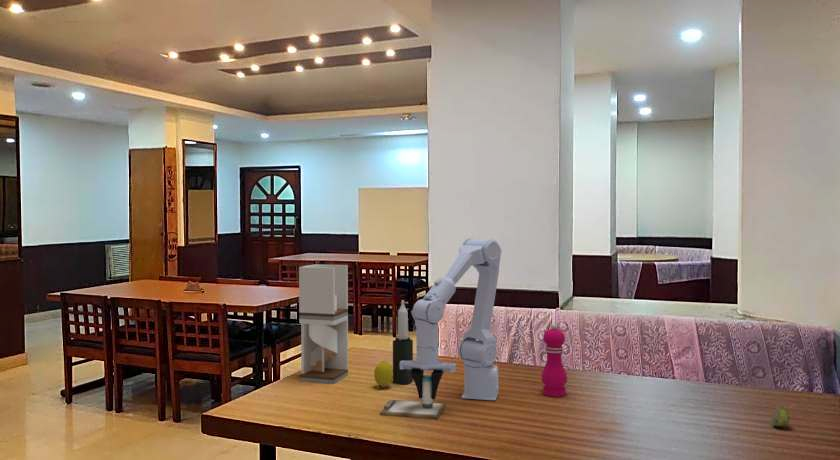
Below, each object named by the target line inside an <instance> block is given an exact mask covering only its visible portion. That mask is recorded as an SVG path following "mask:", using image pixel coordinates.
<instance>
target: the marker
mask: <svg viewBox="0 0 840 460" xmlns="http://www.w3.org/2000/svg"><path fill="white" fill-rule="evenodd" d="M421 402H422V407H423V408H432V407H433V403H434V399H432V378H431V374H430V375H429V374H425V375H424V374H423V376H422V399H421Z"/></svg>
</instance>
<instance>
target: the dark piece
mask: <svg viewBox="0 0 840 460" xmlns="http://www.w3.org/2000/svg"><path fill="white" fill-rule="evenodd" d="M408 314H409V313H408V310H407V309H406V305H405V300H404V299H402V300H401V305H400V307H399V309H398V311H397V337H395V339H393V340H392V369H393V379H392V383H393V384H394V383H396V385H403V386H406V385H409V384H411V382H412V383H413V382H414V380H413V378H412V376H411V371H412V369H403V370H402V369H400V361H412V360H414V357H413V356H414V347H413V346H414V345H413V344H414V342H413V341H414V340H413V339H411V337H409V335H408V334H409V332H408V328H409V326H408V325H409V323H408V321H409V320H408V319H409V317H408Z"/></svg>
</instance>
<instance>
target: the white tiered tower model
mask: <svg viewBox="0 0 840 460" xmlns="http://www.w3.org/2000/svg"><path fill="white" fill-rule="evenodd" d="M348 266H349V265H348V264H310V265H303V266H299V267H298V287H299V289H298V290H299V291H298V303H299V304H298V307H299V308H298V310H299V311H298V312H299V315H298V317H299V321H298V322H299V324H300V325H301V326H300V331H301V332H300V333H301V335H300V338H301V339H300V340H301V341H300V342H301V346H300V349H301V350H300V351H301V352H300V353H301V354H300V355H301V357H300V358H301V363H300V364H301V371H300V372H301V373H300V374H299V382H304V383H317V384H328V385H329V384H330V385H335V384H337V383H338V382H340V381H341V380H343V379H345V378H346V377H348V376H349V304H348V303H349V299H348V298H349V291H348V289H349V288H348V287H349V286H348V285H349V282H348V281H349V279H348V278H349V275H348V274H349V273H348V272H349V271H348V270H349V269H348V268H349V267H348Z"/></svg>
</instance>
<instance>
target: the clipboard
mask: <svg viewBox="0 0 840 460" xmlns="http://www.w3.org/2000/svg"><path fill="white" fill-rule="evenodd" d="M446 407H447V403H441V402H433V407H432V408H423V407H422V401H413V400H411V401H410V400H398V399H397V400H396V399H391V400H390V399H389V400H388V401H387V402H386V403H385V404H384V406H383V409H381V410H380V412H379V415H380V416H388V417H400V418H401V417H402V418H403V417H404V418H416V419H429V420H438V419H439V418H440V416H441V415H442V413H443V411H444V410H445V408H446Z"/></svg>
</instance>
